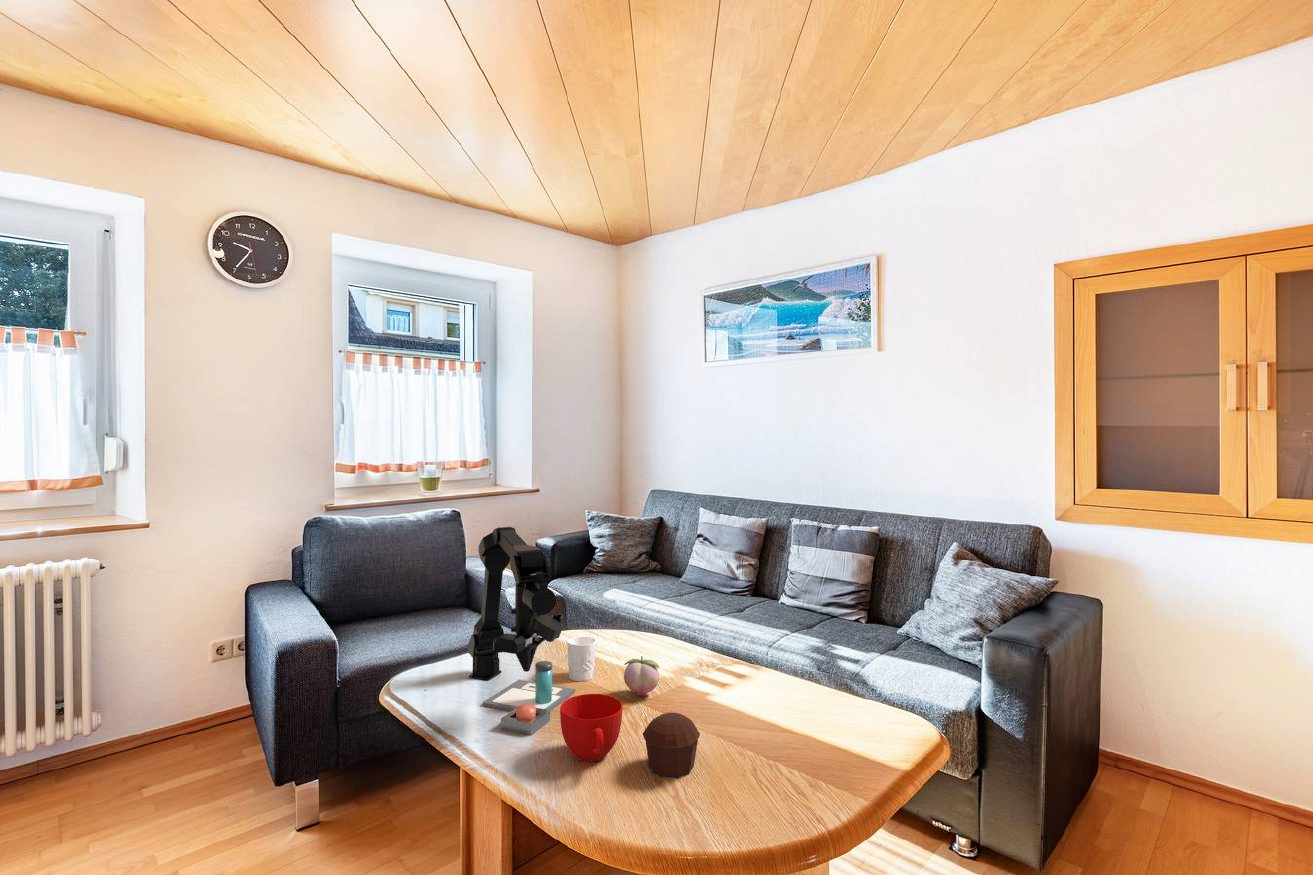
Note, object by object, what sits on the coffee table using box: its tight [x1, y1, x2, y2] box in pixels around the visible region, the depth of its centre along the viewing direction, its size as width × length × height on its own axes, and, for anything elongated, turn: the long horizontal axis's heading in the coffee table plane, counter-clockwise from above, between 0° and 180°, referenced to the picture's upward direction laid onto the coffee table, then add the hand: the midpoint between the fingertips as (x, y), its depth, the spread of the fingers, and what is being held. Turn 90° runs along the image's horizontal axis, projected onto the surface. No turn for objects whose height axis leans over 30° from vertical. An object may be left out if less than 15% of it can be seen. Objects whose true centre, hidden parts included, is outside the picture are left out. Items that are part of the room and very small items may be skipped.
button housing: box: [500, 708, 551, 736], centre depth 145 cm, size 8×8×2 cm
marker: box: [534, 660, 553, 704], centre depth 156 cm, size 4×4×9 cm
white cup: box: [566, 635, 597, 682], centre depth 174 cm, size 8×8×10 cm
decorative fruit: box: [623, 655, 660, 696], centre depth 163 cm, size 9×8×10 cm
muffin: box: [642, 712, 701, 779], centre depth 127 cm, size 12×11×10 cm
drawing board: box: [482, 679, 576, 712], centre depth 159 cm, size 17×16×1 cm
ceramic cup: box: [559, 693, 624, 763], centre depth 130 cm, size 13×17×10 cm
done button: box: [516, 704, 536, 721], centre depth 145 cm, size 4×4×4 cm
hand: (526, 671), depth 146 cm, fingers closed
